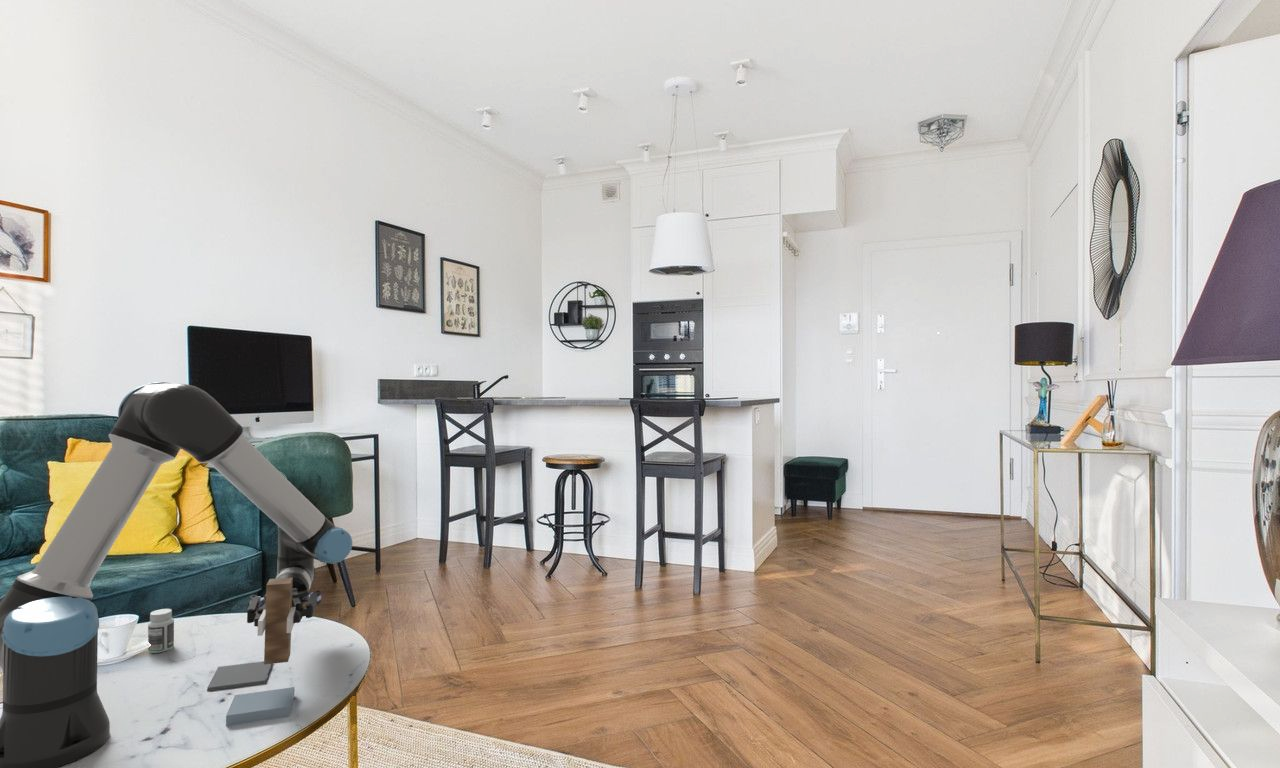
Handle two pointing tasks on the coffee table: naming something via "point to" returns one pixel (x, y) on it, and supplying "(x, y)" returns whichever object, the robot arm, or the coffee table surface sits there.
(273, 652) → the tall wooden pillar
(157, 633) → the pill bottle
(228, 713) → the tile
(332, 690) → the coffee table surface
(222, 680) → the plate
